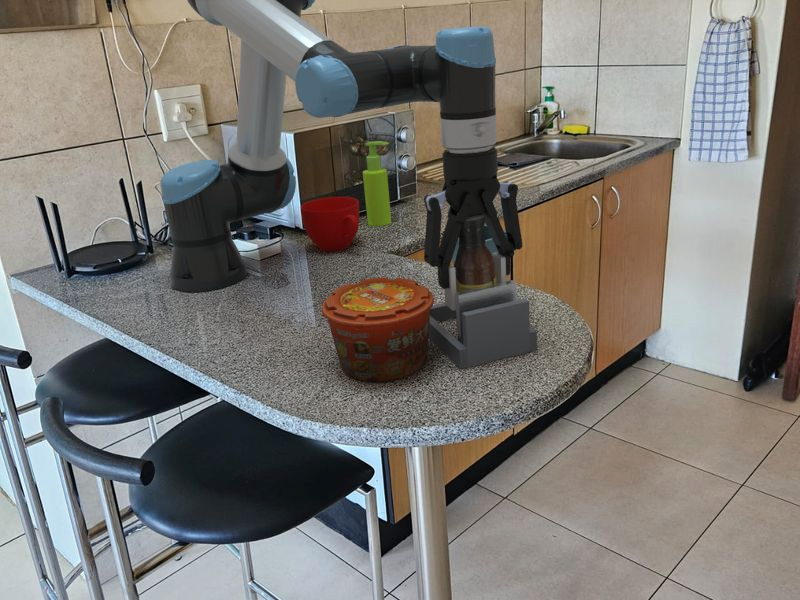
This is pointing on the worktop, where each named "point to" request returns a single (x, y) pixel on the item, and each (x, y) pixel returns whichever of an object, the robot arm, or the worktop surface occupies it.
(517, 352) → the frame
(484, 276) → the sauce bottle
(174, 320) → the worktop surface
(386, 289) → the food container
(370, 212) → the soap dispenser
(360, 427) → the worktop surface
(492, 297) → the bar
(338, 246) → the ceramic cup
